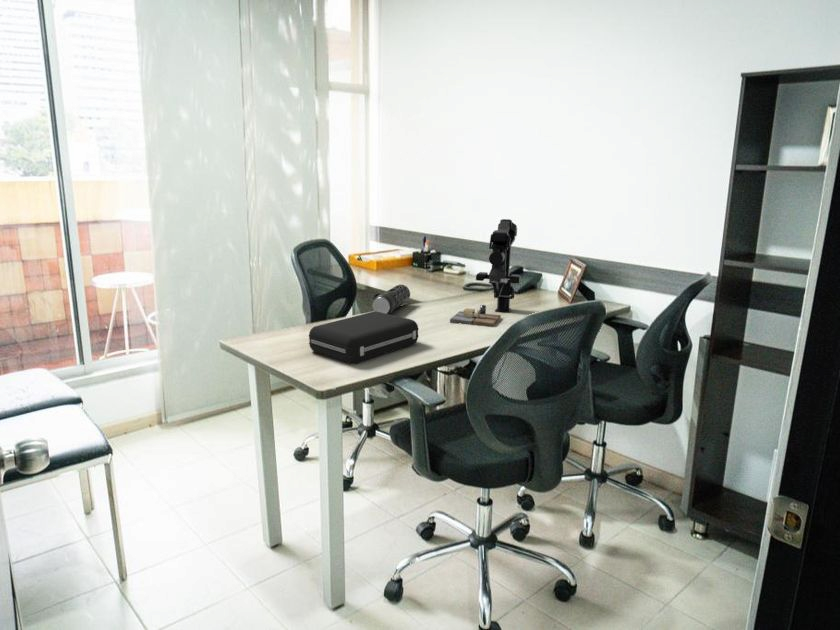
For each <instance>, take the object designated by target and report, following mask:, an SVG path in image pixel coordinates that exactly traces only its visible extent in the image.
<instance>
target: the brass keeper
mask: <svg viewBox="0 0 840 630" xmlns="http://www.w3.org/2000/svg"><path fill="white" fill-rule="evenodd" d="M463 312H464V314H463V317H467V318H473V312H476V313H477V319H478V318H479V313H480V308H479V309H478V310H477V311H476V309H475V308H467V307H466V308H464V310H463Z"/></svg>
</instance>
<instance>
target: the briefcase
mask: <svg viewBox="0 0 840 630" xmlns="http://www.w3.org/2000/svg"><path fill="white" fill-rule="evenodd" d="M418 339H419V325H418V323H417V321H415V320H414V319H411V318H405V317H402V316H399V315H398V316H397V315H392V314H391V313H390V314H385V313H381V312H377V311H374V310H373V311H371V312H366V313H363V314H359V315H355V316H350V317H346V318H342V319H338V320H335V321H330V322H327V323H323V324H319V325H314V326H313V327H312V328H311V329H310V330H309V334H308V340H309V341H308V344H309V348H310V349H311V350H312V351H313V352H314V353H317V354H320V355H323V356H326V357H329V358H332V359H336V360H338V361H342V362H345V363H347V362H348V364H351V363H355V364H358V363H362V362H364V361H367V360H370V358H371V359H373V357H374V358H376V356H377V357H378V356H379V355H380V356H382V354H383V355H385V353H386V354H388V352H389V353H391V351H392V352H394V351H397V350H401V349H404V348H407V347H410V346H413V345H415V344H416V343H417V341H418Z"/></svg>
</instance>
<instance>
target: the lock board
mask: <svg viewBox="0 0 840 630" xmlns="http://www.w3.org/2000/svg"><path fill="white" fill-rule="evenodd" d="M463 314H464V311H461V310H460V311H458V312H457V313H456V314H455V315H453V316H451V317H450V319H449V323H450V322H452V323H451V324H459V323H461V324H462V325H469V324H470V326H471V325H472V326H479V327H480V326H481V327H490V328H493V327H495V325H496V324H497V323H498V322H499V321H500V319H501V317H502V315H501V314H494V313H493V314H492V313H491V314H490V313H486V315H485V318H481V317H479V318H478V319H477V317H473V318H467V317H463Z"/></svg>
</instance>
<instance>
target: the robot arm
mask: <svg viewBox="0 0 840 630" xmlns="http://www.w3.org/2000/svg"><path fill="white" fill-rule="evenodd" d="M517 235H518V226H517V224H516V223H514V222H513V219H510V218H509V219H508V218H507V219H504V218H502V219H500V222H499V223H498V225H497V229H496V230H493V232H492V234H490V239H489V247H488V249H489V250H492V251H491V253H490V255H489V256H488V260H489V263H490V264H491V269H490V271H489V273H488V272H485V271H480V272H478V273H477V274H475V281H477V282H483V281H485V279H486V280H489V281H488V284H491V286H492V287H493V297H494V299H497V300H496V301H497V303H496V307H497V308H496V309H495V310H494V312H501V313H510V312H511V311H512V308H511V305H510V304H511V303H510V302H511V301H510V300H513V299H515V288H514V286H513V284H520V283H521V282H522V275H521V274H515V273H514V274H513V273H512V274H511V275H510V269H511V268H510V267H511V256H512V254H511V253H512V245H513V244H514V243H515V240H516V237H518V236H517Z"/></svg>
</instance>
